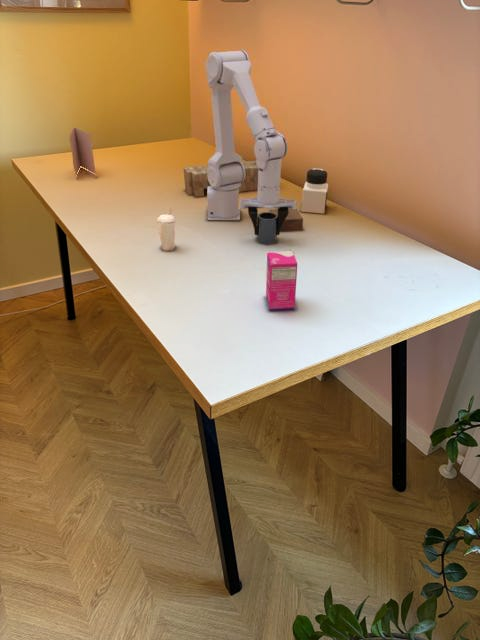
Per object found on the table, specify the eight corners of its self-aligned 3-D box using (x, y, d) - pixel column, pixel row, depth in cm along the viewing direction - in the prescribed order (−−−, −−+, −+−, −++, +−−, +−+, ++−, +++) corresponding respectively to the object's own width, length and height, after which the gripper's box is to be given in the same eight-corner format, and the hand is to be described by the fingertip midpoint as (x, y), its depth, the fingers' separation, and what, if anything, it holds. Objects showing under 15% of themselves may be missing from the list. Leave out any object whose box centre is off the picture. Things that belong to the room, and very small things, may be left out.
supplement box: (264, 297, 116) (266, 251, 110) (290, 296, 116) (294, 250, 110) (267, 311, 111) (270, 263, 105) (295, 310, 112) (299, 263, 105)
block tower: (191, 200, 168) (274, 188, 175) (189, 174, 163) (275, 163, 171) (185, 192, 174) (266, 180, 182) (183, 167, 169) (266, 156, 177)
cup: (257, 244, 139) (258, 219, 135) (256, 235, 143) (257, 211, 140) (277, 244, 139) (278, 219, 135) (275, 236, 143) (276, 212, 140)
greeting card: (78, 170, 189) (71, 127, 181) (99, 169, 190) (93, 127, 182) (73, 180, 180) (66, 135, 172) (95, 179, 181) (89, 135, 172)
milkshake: (181, 244, 138) (179, 208, 133) (172, 253, 134) (170, 216, 128) (165, 242, 139) (163, 206, 134) (156, 250, 135) (153, 214, 130)
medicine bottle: (324, 214, 157) (328, 175, 151) (301, 212, 158) (304, 173, 152) (326, 205, 163) (330, 167, 156) (303, 203, 164) (306, 165, 158)
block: (274, 231, 146) (275, 220, 144) (268, 220, 152) (269, 209, 150) (302, 230, 147) (303, 218, 145) (295, 219, 154) (296, 208, 152)
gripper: (240, 189, 129) (240, 239, 137) (298, 190, 129) (295, 240, 137) (240, 180, 135) (239, 228, 143) (295, 180, 135) (292, 229, 143)
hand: (266, 233), depth 140 cm, fingers closed on cup, 5 cm apart
